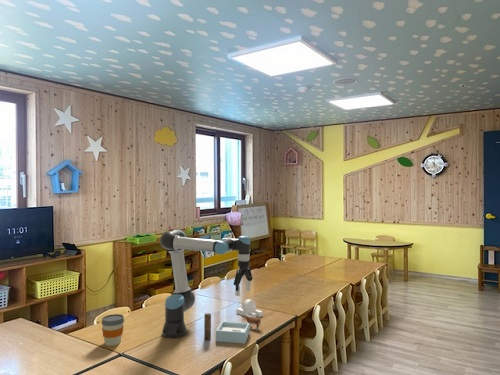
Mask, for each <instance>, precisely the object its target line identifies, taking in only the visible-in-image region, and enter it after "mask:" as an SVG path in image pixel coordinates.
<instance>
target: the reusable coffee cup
mask: <svg viewBox="0 0 500 375" xmlns="http://www.w3.org/2000/svg"><path fill="white" fill-rule="evenodd" d="M124 317H125V316H124V315H123V314H119V313H118V314H117V313H115V314H107V315H105V316H103V317H102V320H101V326H102V328H101V332H102V336H103V339H104V345H105V346H106V347H107V346H108V347H113V346H117V345H120V343H122V337H123V336H122V335H123V333H124V326H125V325H124V322H125V318H124Z"/></svg>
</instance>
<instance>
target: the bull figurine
mask: <svg viewBox="0 0 500 375" xmlns="http://www.w3.org/2000/svg"><path fill="white" fill-rule="evenodd" d="M243 317H244V318H246V323H249V328H250V327H251V328H252V326H256V327H255V330H256V331H258V330H259V327H260V326H261V319H260V317H258V318H257V317H256V318H254V317H252V316H250V315H248V314H246V315H244V316H243Z"/></svg>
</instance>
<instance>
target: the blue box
mask: <svg viewBox="0 0 500 375" xmlns="http://www.w3.org/2000/svg"><path fill="white" fill-rule="evenodd" d="M249 335H250V324H249V323H248V322H237V321H236V322H235V321H225V320H224V321H223V320H222V321H221V322H220V323H219V325H218V327H217V328H216V330H215V342H219V343H234V344H246V342H247V341H248V337H249Z"/></svg>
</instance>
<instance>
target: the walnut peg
mask: <svg viewBox="0 0 500 375" xmlns="http://www.w3.org/2000/svg"><path fill="white" fill-rule="evenodd" d="M203 319H204V327H203V328H204V336H203V337H204V340H205V341H210V340H211V339H212V314H211V313H210V312H208V313H207V312H206V313H204V318H203Z"/></svg>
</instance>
